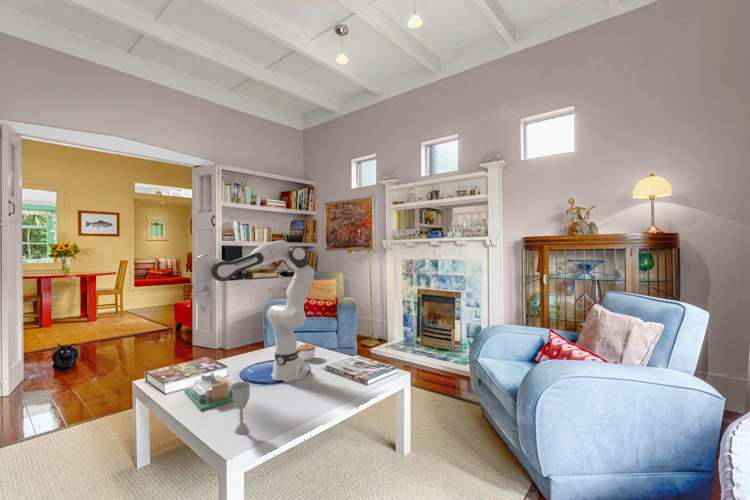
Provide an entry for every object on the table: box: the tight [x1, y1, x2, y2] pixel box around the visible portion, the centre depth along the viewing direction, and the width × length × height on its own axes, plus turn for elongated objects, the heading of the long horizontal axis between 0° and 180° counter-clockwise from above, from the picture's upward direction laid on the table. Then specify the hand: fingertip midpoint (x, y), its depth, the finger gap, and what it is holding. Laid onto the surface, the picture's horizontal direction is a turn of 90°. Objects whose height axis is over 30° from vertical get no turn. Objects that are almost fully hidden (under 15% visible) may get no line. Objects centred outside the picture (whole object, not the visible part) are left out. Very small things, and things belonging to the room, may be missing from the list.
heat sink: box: [190, 371, 234, 402], centre depth 169 cm, size 16×15×7 cm
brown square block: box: [210, 381, 228, 403], centre depth 162 cm, size 2×7×7 cm, turn 132°
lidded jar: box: [297, 343, 316, 362], centre depth 221 cm, size 11×11×9 cm
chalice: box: [231, 381, 252, 435], centre depth 138 cm, size 7×7×18 cm
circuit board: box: [183, 387, 234, 412], centre depth 170 cm, size 26×18×1 cm
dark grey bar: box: [204, 374, 222, 385], centre depth 169 cm, size 16×4×2 cm, turn 42°
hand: (203, 312), depth 182 cm, fingers closed
